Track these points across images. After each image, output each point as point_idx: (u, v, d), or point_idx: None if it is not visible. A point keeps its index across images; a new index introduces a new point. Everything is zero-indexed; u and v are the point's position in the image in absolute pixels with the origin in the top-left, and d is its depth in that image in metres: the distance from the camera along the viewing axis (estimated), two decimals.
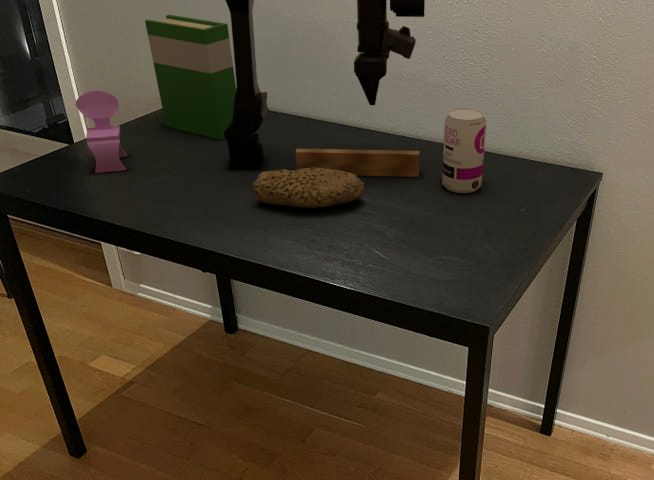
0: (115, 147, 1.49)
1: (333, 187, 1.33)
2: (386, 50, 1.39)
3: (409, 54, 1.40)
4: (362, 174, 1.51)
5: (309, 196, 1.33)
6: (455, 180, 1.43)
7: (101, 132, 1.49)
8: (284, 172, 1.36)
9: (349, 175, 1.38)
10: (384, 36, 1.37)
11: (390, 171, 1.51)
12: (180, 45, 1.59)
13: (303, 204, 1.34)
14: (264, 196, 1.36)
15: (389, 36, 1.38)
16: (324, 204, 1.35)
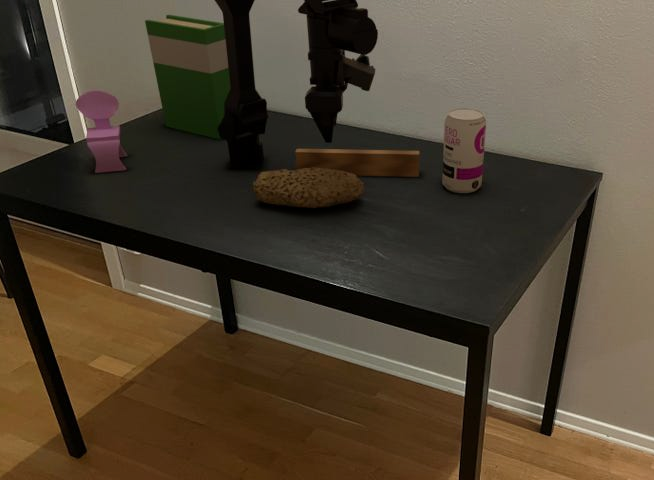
0: (115, 147, 1.49)
1: (333, 187, 1.33)
2: (342, 82, 1.24)
3: (368, 86, 1.25)
4: (362, 174, 1.51)
5: (309, 196, 1.33)
6: (455, 180, 1.43)
7: (101, 132, 1.49)
8: (284, 172, 1.36)
9: (349, 175, 1.38)
10: (339, 67, 1.22)
11: (390, 171, 1.51)
12: (180, 45, 1.59)
13: (303, 204, 1.34)
14: (264, 196, 1.36)
15: (345, 67, 1.23)
16: (324, 204, 1.35)
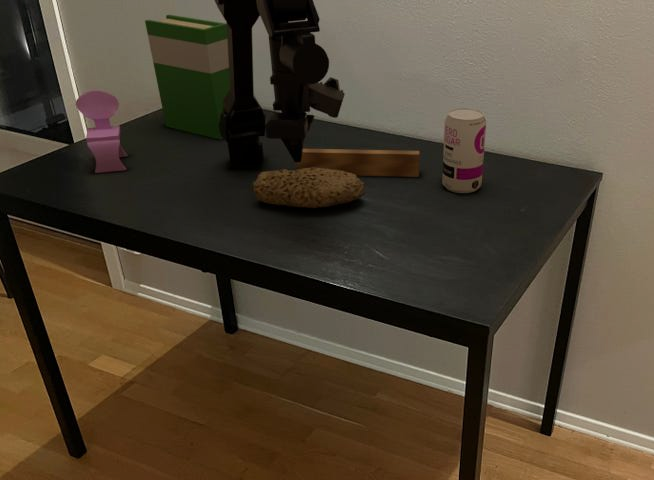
0: (115, 147, 1.49)
1: (333, 187, 1.33)
2: (307, 108, 1.15)
3: (336, 112, 1.16)
4: (362, 174, 1.51)
5: (309, 196, 1.33)
6: (455, 180, 1.43)
7: (101, 132, 1.49)
8: (284, 172, 1.36)
9: (349, 175, 1.38)
10: (304, 92, 1.14)
11: (390, 171, 1.51)
12: (180, 45, 1.59)
13: (303, 204, 1.34)
14: (264, 196, 1.36)
15: (310, 92, 1.14)
16: (324, 204, 1.35)
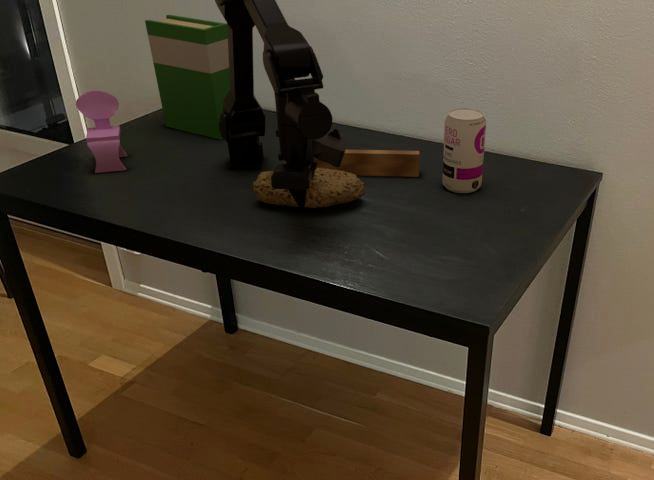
0: (115, 147, 1.49)
1: (333, 187, 1.33)
2: (311, 158, 1.20)
3: (338, 162, 1.21)
4: (362, 174, 1.51)
5: (309, 196, 1.33)
6: (455, 180, 1.43)
7: (101, 132, 1.49)
8: None
9: (349, 175, 1.38)
10: (308, 143, 1.19)
11: (390, 171, 1.51)
12: (180, 45, 1.59)
13: None
14: (264, 196, 1.36)
15: (314, 143, 1.19)
16: (324, 204, 1.35)
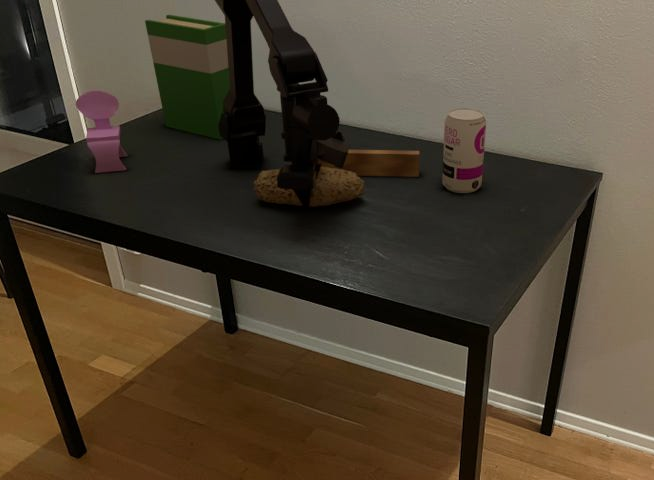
0: (115, 147, 1.49)
1: (334, 185, 1.34)
2: (315, 160, 1.25)
3: (341, 163, 1.26)
4: (362, 174, 1.51)
5: None
6: (455, 180, 1.43)
7: (101, 132, 1.49)
8: None
9: (349, 174, 1.39)
10: (312, 145, 1.24)
11: (390, 171, 1.51)
12: (180, 45, 1.59)
13: None
14: (265, 195, 1.36)
15: (318, 145, 1.24)
16: (325, 202, 1.35)
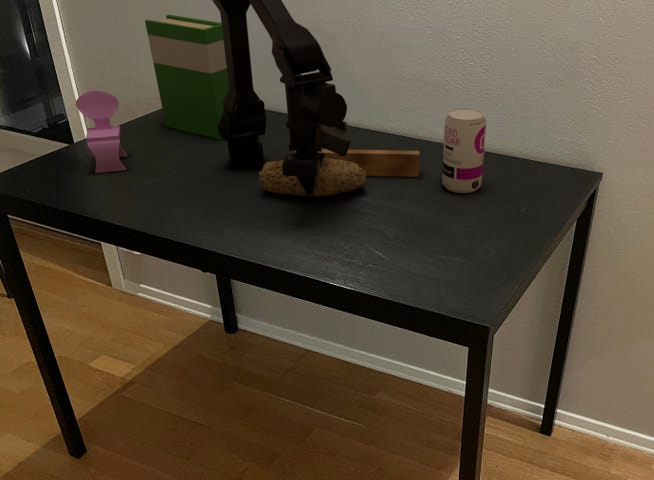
0: (115, 147, 1.49)
1: (337, 175, 1.38)
2: (319, 148, 1.29)
3: (344, 152, 1.30)
4: None
5: None
6: (455, 180, 1.43)
7: (101, 132, 1.49)
8: None
9: (352, 164, 1.42)
10: (316, 134, 1.28)
11: (390, 171, 1.51)
12: (180, 45, 1.59)
13: None
14: (270, 185, 1.40)
15: (322, 134, 1.28)
16: (328, 192, 1.39)
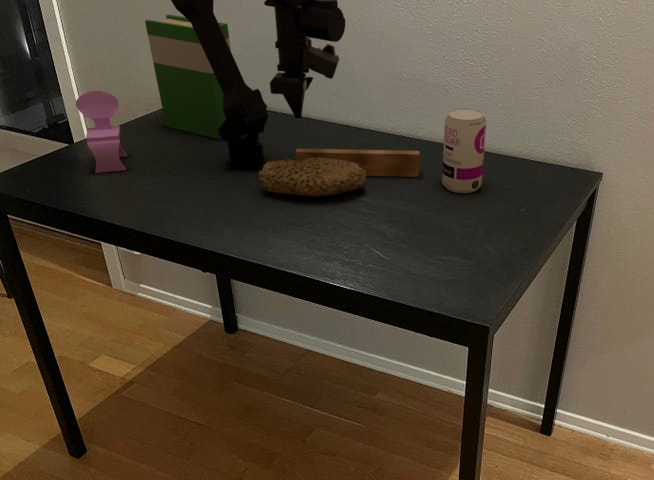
0: (115, 147, 1.49)
1: (337, 175, 1.38)
2: (306, 69, 1.34)
3: (331, 74, 1.35)
4: None
5: (314, 184, 1.38)
6: (455, 180, 1.43)
7: (101, 132, 1.49)
8: (289, 162, 1.40)
9: (352, 164, 1.42)
10: (304, 55, 1.33)
11: (390, 171, 1.51)
12: (180, 45, 1.59)
13: (308, 192, 1.39)
14: (270, 185, 1.40)
15: (309, 55, 1.33)
16: (328, 192, 1.39)
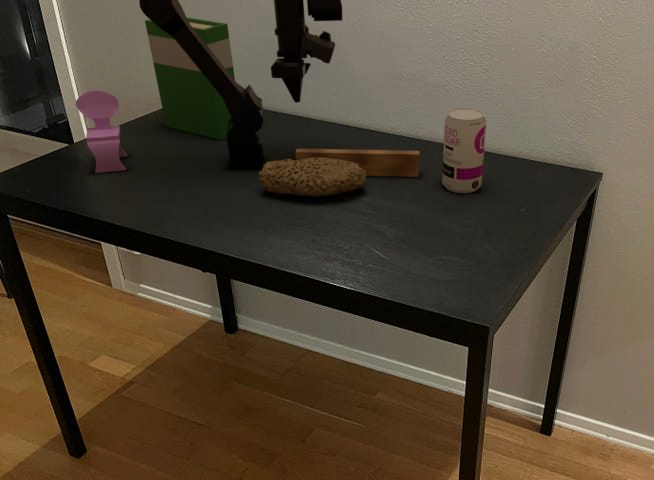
0: (115, 147, 1.49)
1: (337, 175, 1.38)
2: (305, 55, 1.41)
3: (328, 59, 1.42)
4: None
5: (314, 184, 1.38)
6: (455, 180, 1.43)
7: (101, 132, 1.49)
8: (289, 162, 1.40)
9: (352, 164, 1.42)
10: (302, 41, 1.40)
11: (390, 171, 1.51)
12: None
13: (308, 192, 1.39)
14: (270, 185, 1.40)
15: (307, 41, 1.40)
16: (328, 192, 1.39)
